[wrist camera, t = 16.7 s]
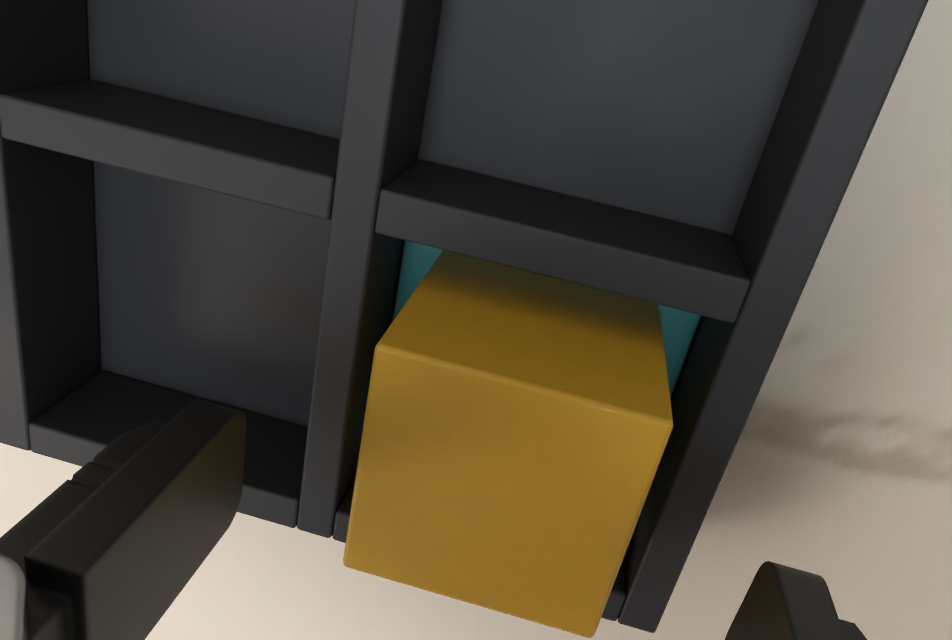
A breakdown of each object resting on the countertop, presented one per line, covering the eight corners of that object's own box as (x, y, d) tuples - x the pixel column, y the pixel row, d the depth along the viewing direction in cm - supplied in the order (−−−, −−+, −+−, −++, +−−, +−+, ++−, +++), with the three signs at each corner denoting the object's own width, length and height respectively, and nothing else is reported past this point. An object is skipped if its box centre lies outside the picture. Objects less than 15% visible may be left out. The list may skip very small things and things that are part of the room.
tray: (937, -191, 11) (1038, -250, 8) (650, 536, 17) (655, 635, 15) (50, -359, 12) (-111, -458, 10) (86, 378, 19) (-4, 442, 16)
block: (661, 302, 14) (676, 424, 10) (600, 481, 16) (593, 641, 12) (442, 248, 15) (374, 344, 11) (409, 428, 17) (340, 568, 13)
